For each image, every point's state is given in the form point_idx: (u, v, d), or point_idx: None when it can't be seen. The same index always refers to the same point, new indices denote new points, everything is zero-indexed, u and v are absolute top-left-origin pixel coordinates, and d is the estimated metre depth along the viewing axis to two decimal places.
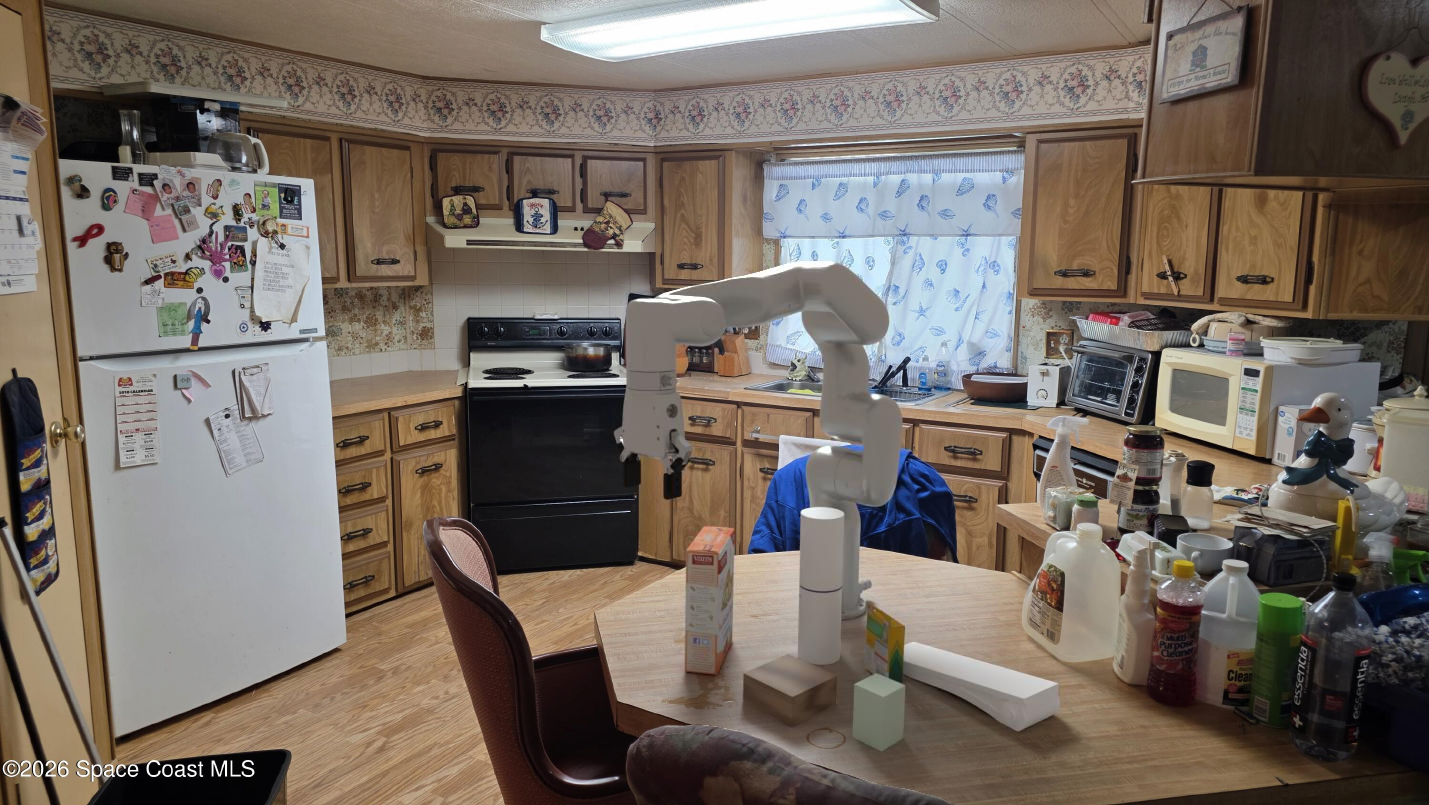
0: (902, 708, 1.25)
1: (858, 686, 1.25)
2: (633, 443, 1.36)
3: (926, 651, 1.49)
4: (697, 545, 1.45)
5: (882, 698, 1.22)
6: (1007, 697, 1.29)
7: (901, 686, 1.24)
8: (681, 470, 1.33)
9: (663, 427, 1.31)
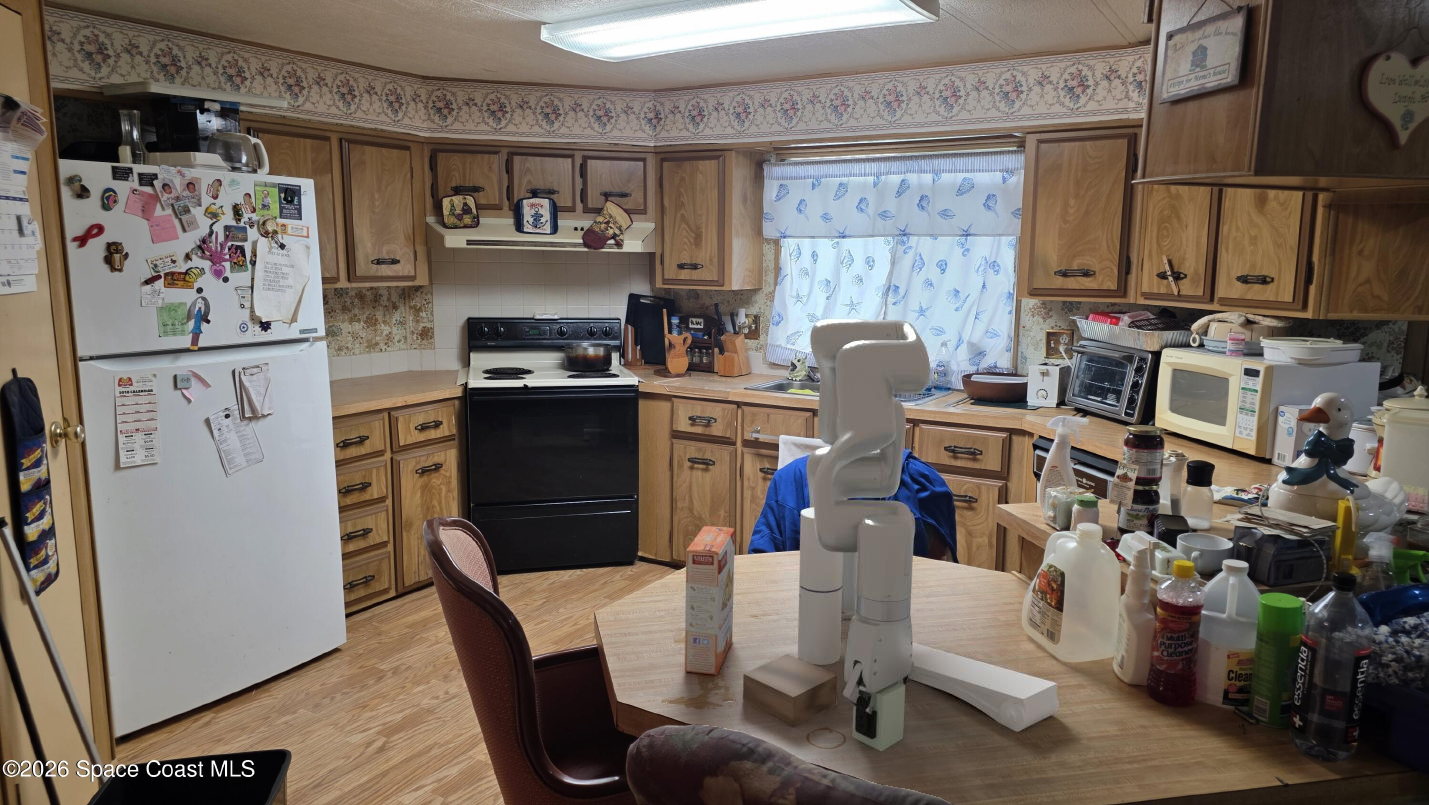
0: (902, 708, 1.25)
1: None
2: (885, 678, 1.22)
3: (924, 652, 1.49)
4: (697, 545, 1.45)
5: (882, 698, 1.22)
6: (1006, 697, 1.29)
7: (901, 686, 1.24)
8: None
9: None
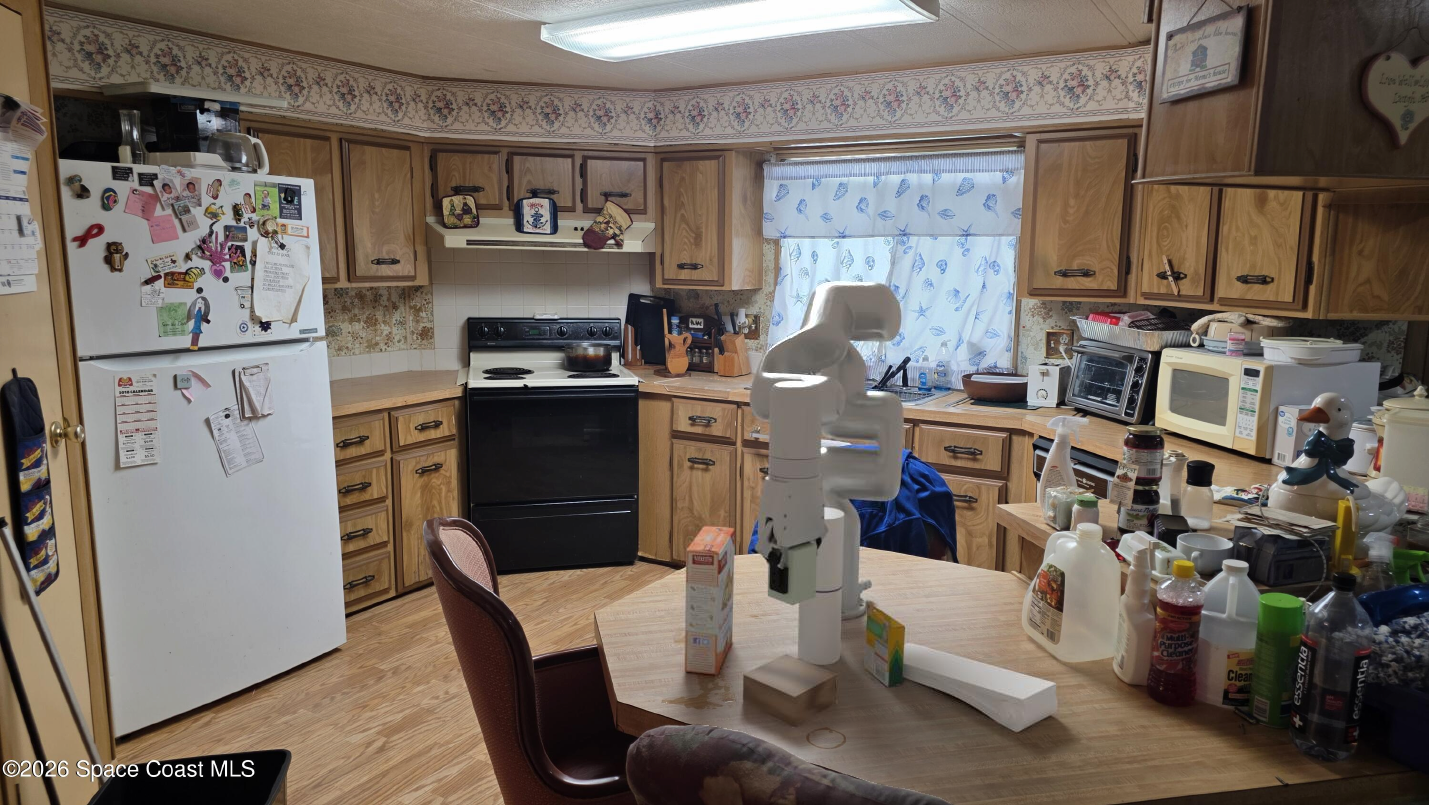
0: (814, 567, 1.32)
1: None
2: (796, 535, 1.29)
3: (922, 652, 1.48)
4: (697, 545, 1.45)
5: (792, 553, 1.28)
6: (1006, 698, 1.29)
7: (813, 545, 1.31)
8: None
9: None
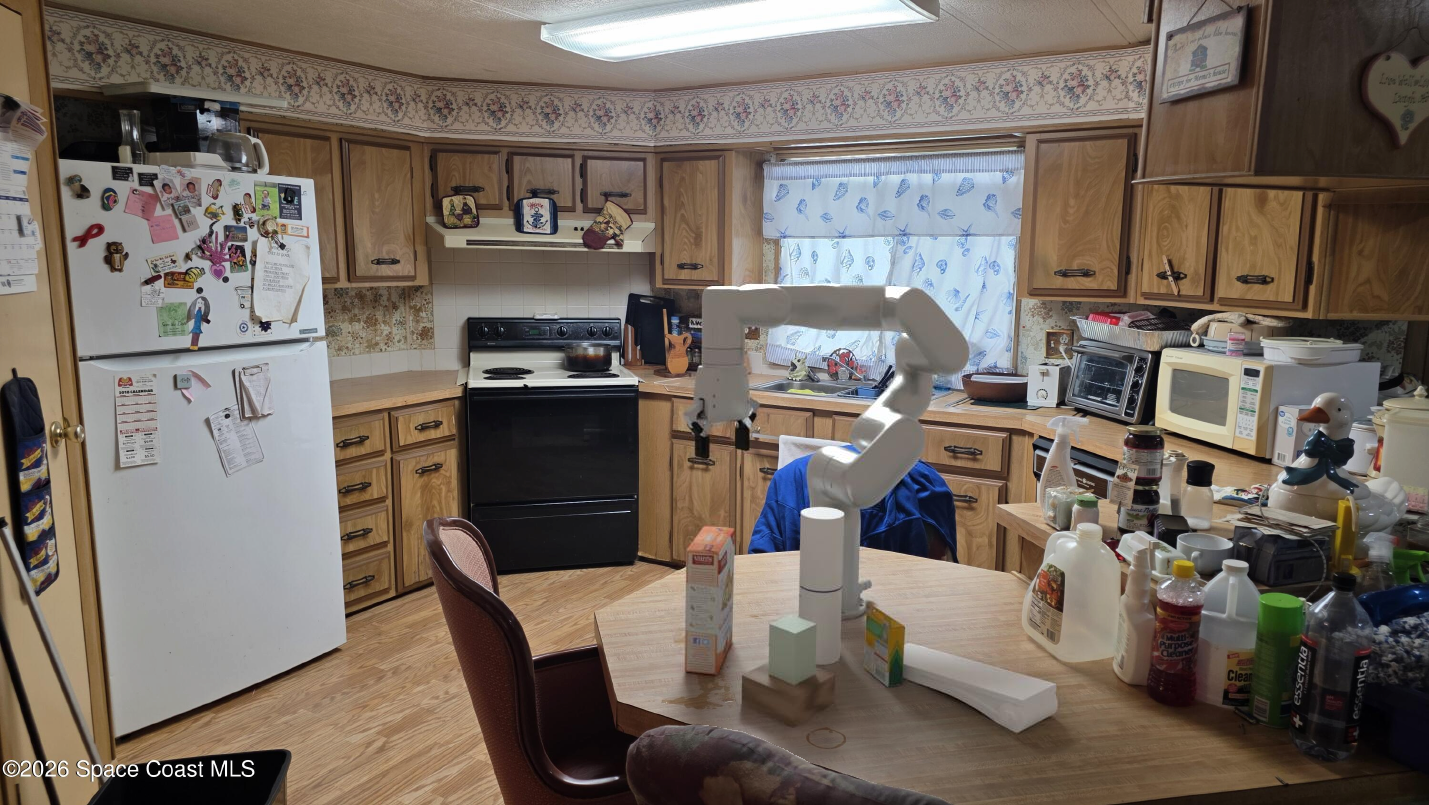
0: (814, 645, 1.34)
1: (773, 625, 1.33)
2: (724, 414, 1.55)
3: (922, 653, 1.48)
4: (697, 545, 1.45)
5: (794, 635, 1.30)
6: (1005, 699, 1.29)
7: (813, 624, 1.33)
8: None
9: None
